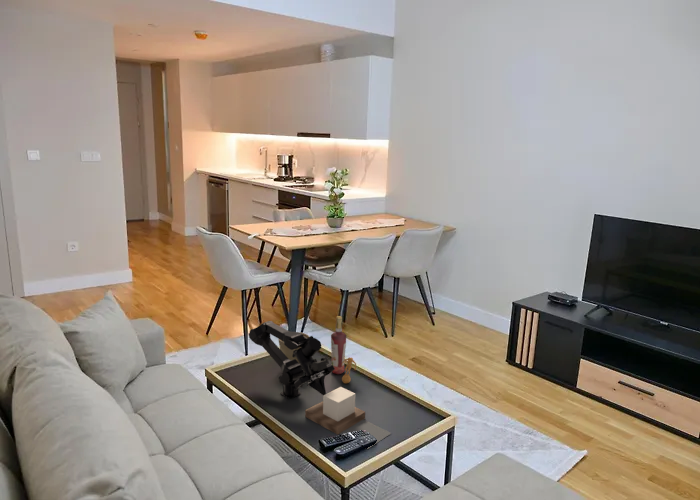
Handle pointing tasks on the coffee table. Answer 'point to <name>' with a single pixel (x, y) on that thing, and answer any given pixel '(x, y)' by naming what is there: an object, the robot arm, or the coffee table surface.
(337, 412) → the beige block
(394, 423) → the coffee table surface
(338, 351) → the liquor
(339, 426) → the walnut board
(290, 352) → the plant pot
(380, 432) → the mat
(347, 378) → the figurine
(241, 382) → the coffee table surface
